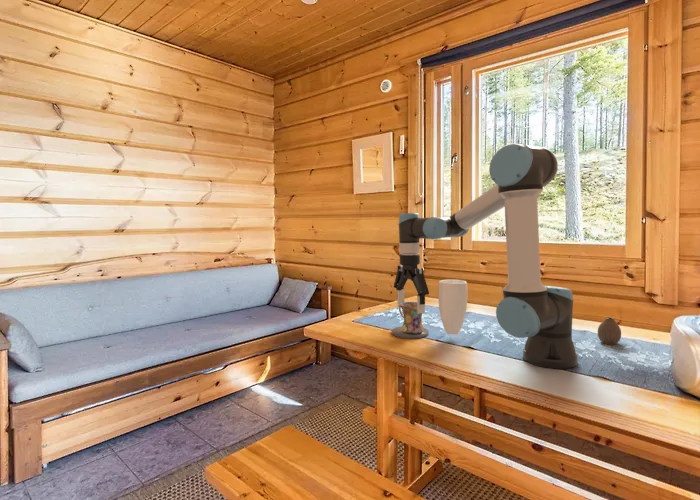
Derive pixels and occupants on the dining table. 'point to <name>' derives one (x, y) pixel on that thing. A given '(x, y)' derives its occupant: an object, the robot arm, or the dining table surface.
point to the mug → (411, 318)
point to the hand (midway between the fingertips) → (410, 309)
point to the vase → (609, 331)
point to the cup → (452, 304)
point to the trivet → (401, 334)
